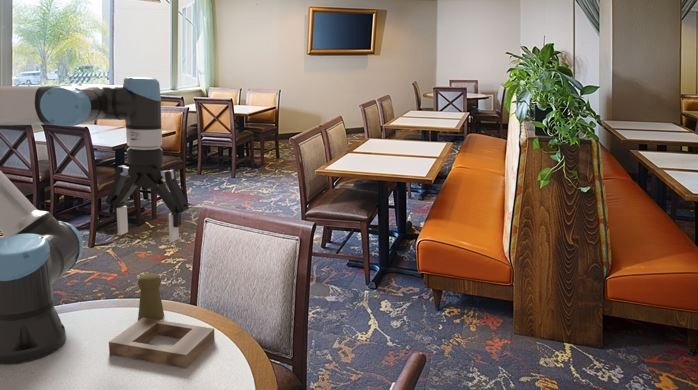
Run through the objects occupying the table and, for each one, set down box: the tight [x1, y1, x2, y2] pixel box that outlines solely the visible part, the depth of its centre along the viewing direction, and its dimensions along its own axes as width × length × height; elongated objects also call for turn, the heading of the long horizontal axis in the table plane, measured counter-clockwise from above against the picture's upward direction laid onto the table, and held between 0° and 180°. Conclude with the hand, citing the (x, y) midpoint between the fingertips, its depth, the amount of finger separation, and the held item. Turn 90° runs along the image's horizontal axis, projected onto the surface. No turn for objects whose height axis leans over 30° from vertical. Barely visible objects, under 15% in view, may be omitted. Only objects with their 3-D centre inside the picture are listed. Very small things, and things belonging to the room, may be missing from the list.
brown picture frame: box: [108, 318, 216, 369], centre depth 115 cm, size 18×12×3 cm, turn 77°
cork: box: [137, 272, 165, 321], centre depth 128 cm, size 6×6×11 cm
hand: (148, 236), depth 124 cm, fingers open, 13 cm apart
